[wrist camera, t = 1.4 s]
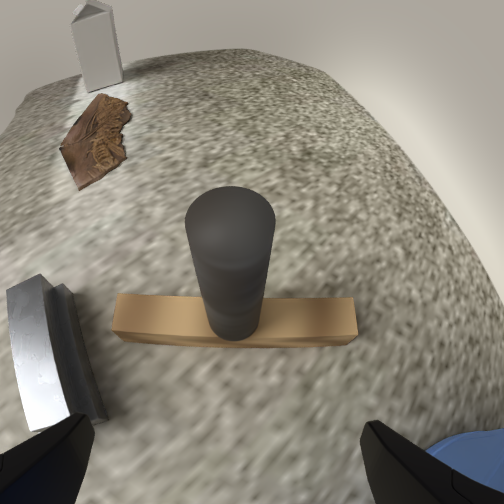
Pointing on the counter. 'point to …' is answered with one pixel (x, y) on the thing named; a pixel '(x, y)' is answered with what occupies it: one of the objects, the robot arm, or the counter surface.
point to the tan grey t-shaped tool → (233, 288)
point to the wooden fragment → (96, 140)
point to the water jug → (475, 456)
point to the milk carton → (96, 45)
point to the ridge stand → (50, 355)
